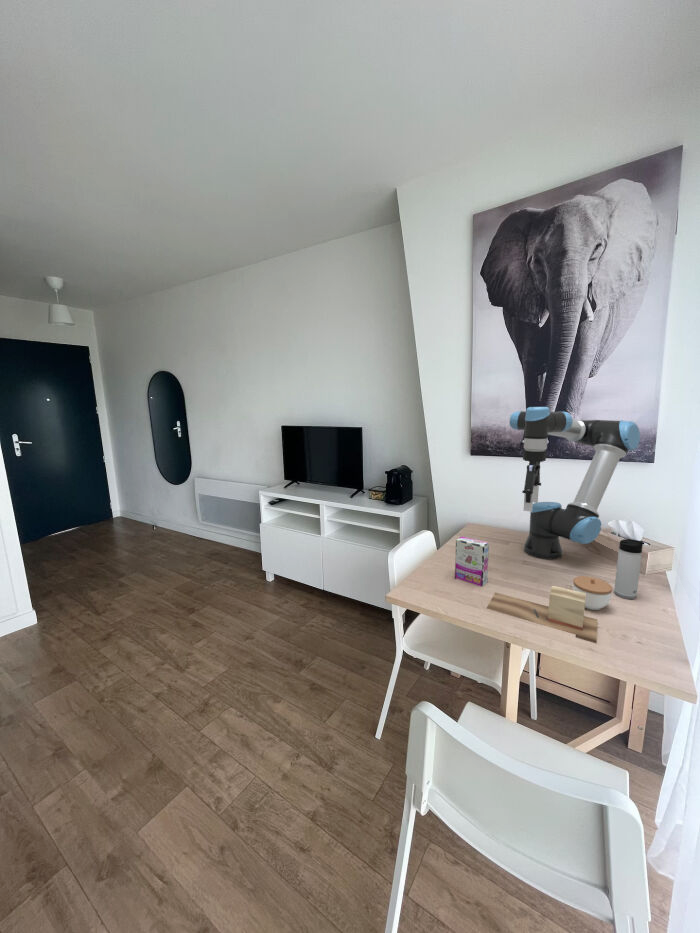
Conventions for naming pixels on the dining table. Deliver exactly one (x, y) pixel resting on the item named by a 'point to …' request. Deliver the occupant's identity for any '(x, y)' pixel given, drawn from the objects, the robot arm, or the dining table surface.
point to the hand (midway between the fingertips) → (530, 506)
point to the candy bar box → (472, 561)
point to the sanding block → (566, 607)
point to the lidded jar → (593, 591)
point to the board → (539, 615)
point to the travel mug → (628, 568)
